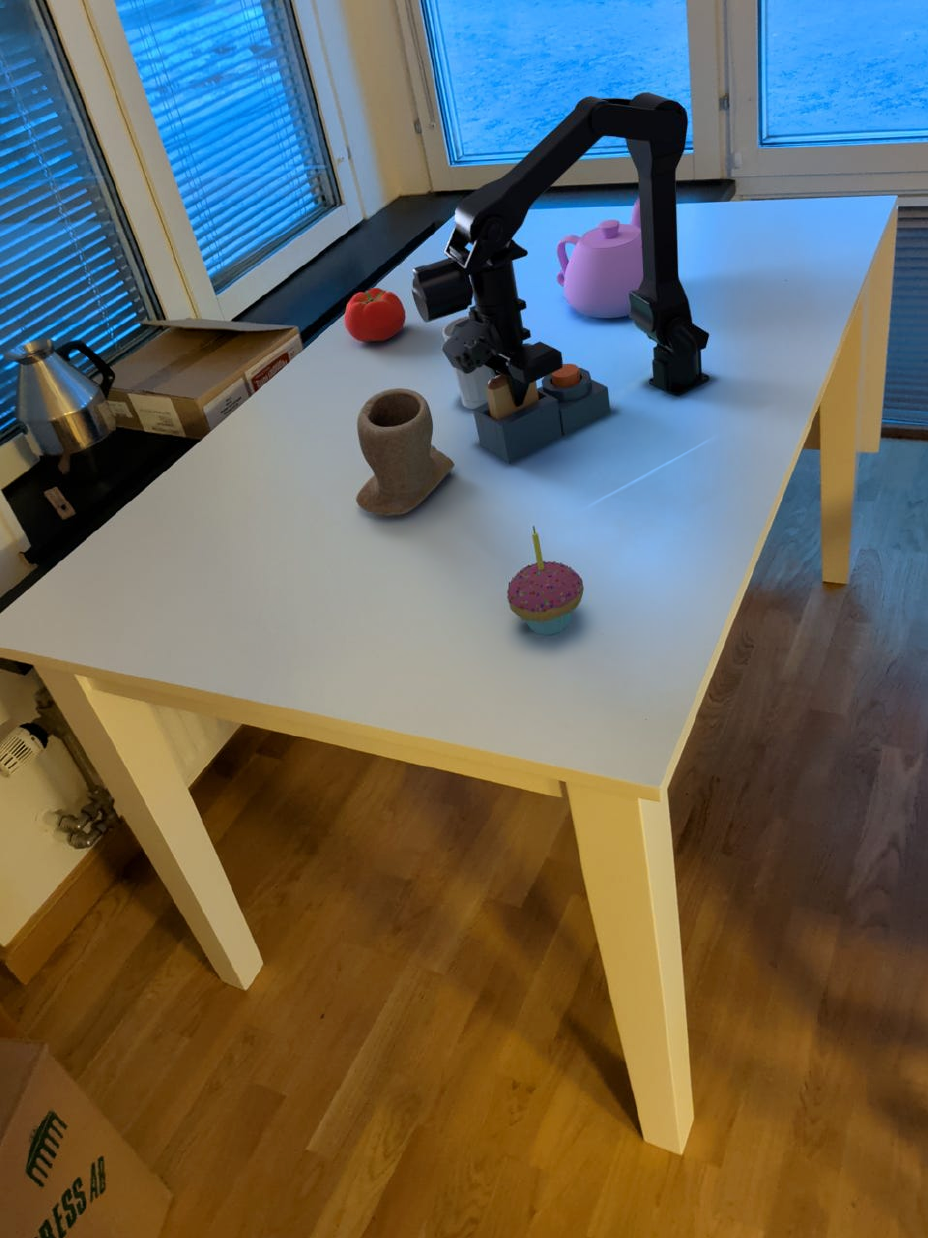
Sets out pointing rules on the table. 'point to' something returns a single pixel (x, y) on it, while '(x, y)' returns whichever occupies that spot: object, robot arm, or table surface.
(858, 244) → the table surface
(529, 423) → the toaster
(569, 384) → the button
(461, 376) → the cup
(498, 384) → the tan slab
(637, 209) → the teapot
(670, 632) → the table surface
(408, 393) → the stone cup
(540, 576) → the cupcake
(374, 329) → the tomato
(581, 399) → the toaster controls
